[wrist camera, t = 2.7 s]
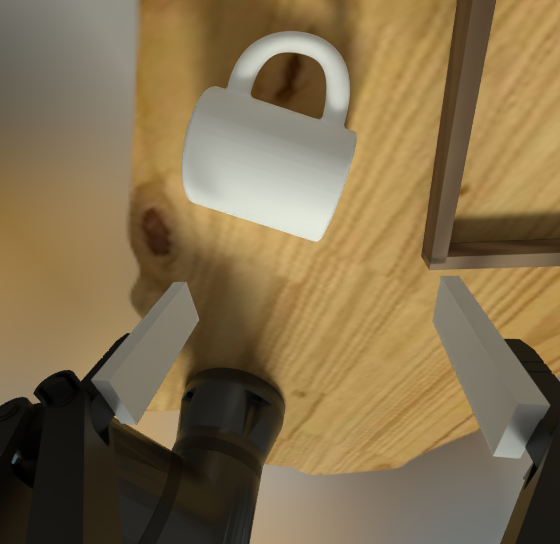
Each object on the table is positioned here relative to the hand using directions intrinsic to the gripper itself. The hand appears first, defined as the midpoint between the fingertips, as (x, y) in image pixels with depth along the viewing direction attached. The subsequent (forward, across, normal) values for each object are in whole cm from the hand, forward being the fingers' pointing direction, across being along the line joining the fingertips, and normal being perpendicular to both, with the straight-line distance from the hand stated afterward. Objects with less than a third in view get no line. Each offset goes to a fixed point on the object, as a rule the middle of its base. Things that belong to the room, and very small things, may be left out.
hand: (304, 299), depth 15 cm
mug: (+13, -2, +7) cm, 15 cm away
